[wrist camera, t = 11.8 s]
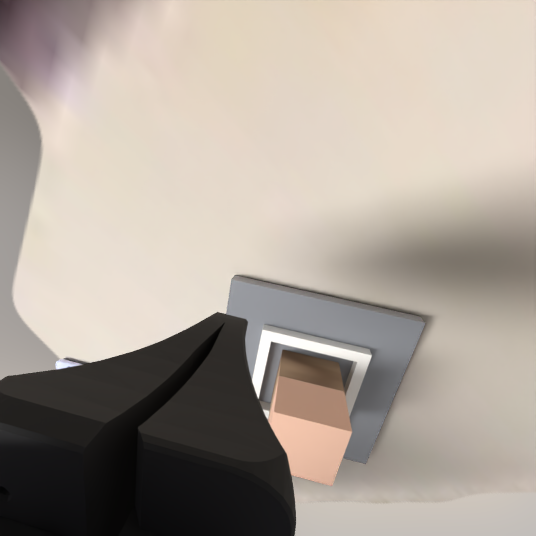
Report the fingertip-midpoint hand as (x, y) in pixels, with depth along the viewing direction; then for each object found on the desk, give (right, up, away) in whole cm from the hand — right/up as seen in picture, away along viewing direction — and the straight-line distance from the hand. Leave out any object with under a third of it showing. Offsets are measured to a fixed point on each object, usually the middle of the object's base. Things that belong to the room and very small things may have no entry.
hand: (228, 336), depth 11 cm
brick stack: (+4, -6, +10) cm, 13 cm away
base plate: (+5, -6, +11) cm, 13 cm away
